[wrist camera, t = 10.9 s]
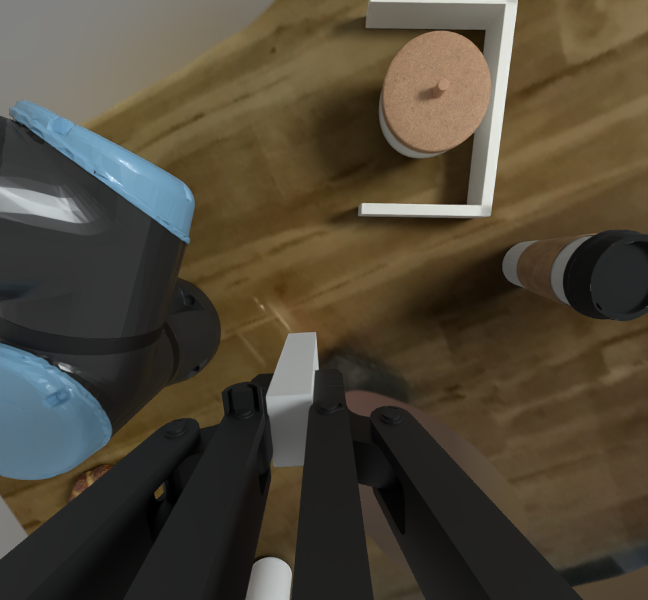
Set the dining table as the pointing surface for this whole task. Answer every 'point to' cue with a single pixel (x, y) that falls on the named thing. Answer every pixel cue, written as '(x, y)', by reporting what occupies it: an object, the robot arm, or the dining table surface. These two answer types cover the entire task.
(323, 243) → the dining table surface
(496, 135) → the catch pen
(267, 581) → the can
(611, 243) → the coffee cup
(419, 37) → the lidded jar
